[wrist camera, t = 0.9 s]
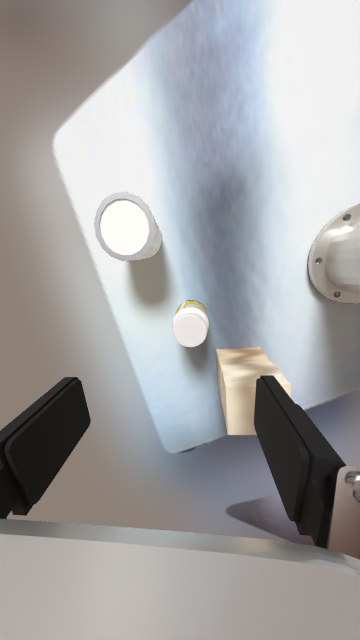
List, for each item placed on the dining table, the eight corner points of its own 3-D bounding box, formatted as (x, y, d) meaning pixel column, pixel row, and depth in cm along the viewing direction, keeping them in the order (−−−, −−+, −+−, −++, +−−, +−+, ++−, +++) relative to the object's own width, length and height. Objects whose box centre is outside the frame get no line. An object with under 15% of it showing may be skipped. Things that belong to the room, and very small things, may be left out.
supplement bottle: (185, 332, 29) (181, 356, 21) (171, 308, 28) (161, 323, 20) (211, 319, 28) (217, 339, 20) (198, 293, 27) (198, 304, 19)
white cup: (146, 200, 24) (126, 175, 18) (175, 243, 26) (167, 234, 19) (111, 233, 26) (81, 221, 19) (140, 272, 27) (121, 273, 21)
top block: (272, 361, 24) (291, 385, 19) (271, 404, 26) (287, 435, 21) (220, 364, 25) (225, 386, 20) (222, 405, 27) (227, 435, 22)
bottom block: (259, 346, 29) (272, 362, 24) (259, 383, 31) (270, 404, 26) (216, 349, 30) (219, 364, 25) (218, 384, 32) (222, 405, 27)
